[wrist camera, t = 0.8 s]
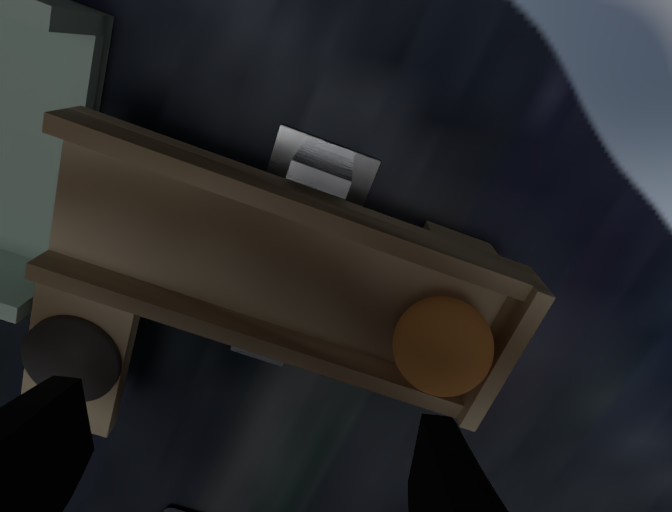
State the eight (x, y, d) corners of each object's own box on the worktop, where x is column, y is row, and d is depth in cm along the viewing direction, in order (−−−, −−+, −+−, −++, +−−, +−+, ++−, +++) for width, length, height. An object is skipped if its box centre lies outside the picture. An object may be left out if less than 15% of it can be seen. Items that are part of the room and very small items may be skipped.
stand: (314, 328, 22) (305, 381, 18) (227, 300, 21) (201, 348, 18) (380, 160, 19) (385, 184, 15) (281, 123, 18) (263, 139, 15)
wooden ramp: (390, 461, 24) (398, 559, 20) (67, 360, 23) (-9, 440, 18) (508, 239, 20) (555, 297, 15) (112, 96, 18) (24, 109, 13)
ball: (457, 369, 18) (476, 431, 15) (376, 342, 18) (379, 400, 15) (497, 297, 17) (526, 348, 14) (410, 267, 16) (422, 312, 14)
